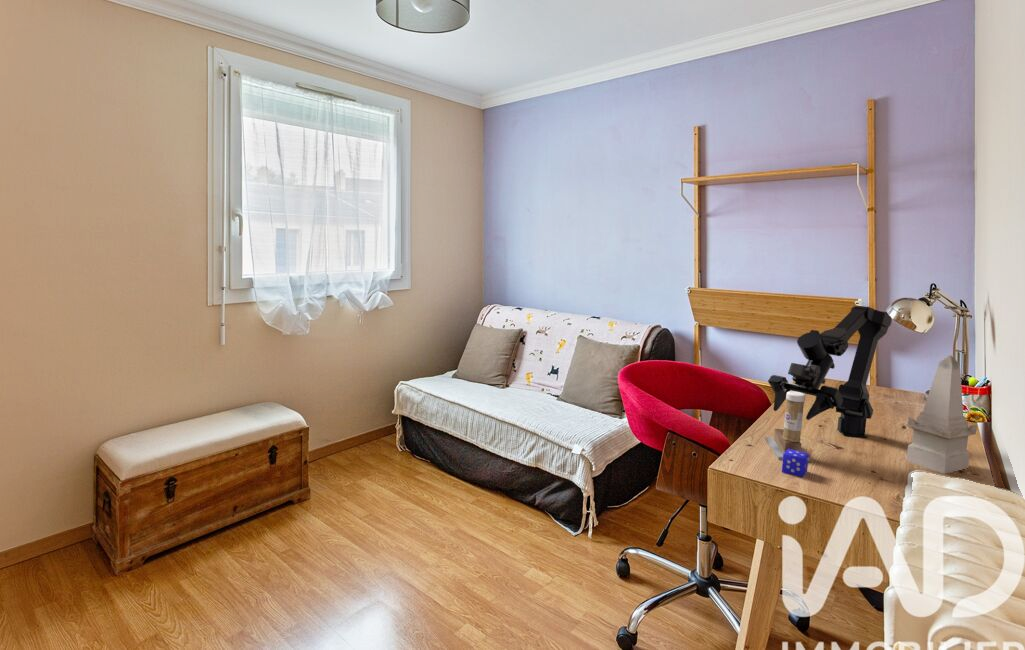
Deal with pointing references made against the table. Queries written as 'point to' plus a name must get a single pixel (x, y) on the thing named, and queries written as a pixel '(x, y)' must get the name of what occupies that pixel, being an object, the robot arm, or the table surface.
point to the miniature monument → (942, 424)
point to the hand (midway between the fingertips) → (790, 414)
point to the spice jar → (793, 416)
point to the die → (795, 462)
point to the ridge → (782, 444)
